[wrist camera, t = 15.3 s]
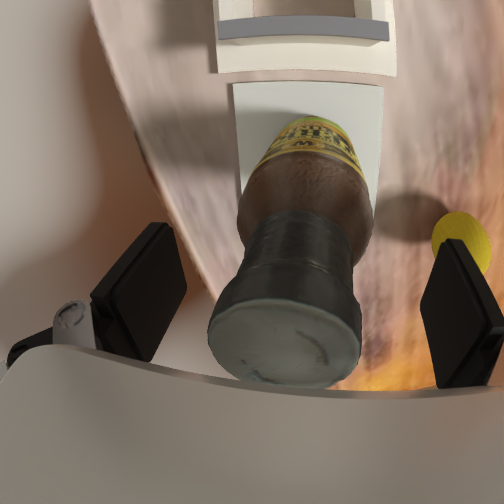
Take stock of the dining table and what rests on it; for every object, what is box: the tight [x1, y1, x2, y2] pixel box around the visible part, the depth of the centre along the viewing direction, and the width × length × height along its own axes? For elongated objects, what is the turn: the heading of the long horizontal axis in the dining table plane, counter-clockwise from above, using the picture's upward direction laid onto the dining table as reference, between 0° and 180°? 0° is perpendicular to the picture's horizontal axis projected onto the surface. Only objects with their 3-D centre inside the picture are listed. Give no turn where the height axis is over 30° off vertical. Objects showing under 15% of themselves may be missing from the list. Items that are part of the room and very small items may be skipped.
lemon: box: [431, 212, 491, 274], centre depth 21 cm, size 6×6×8 cm
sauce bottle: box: [207, 115, 374, 389], centre depth 15 cm, size 6×6×20 cm
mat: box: [233, 81, 383, 217], centre depth 23 cm, size 12×12×1 cm
